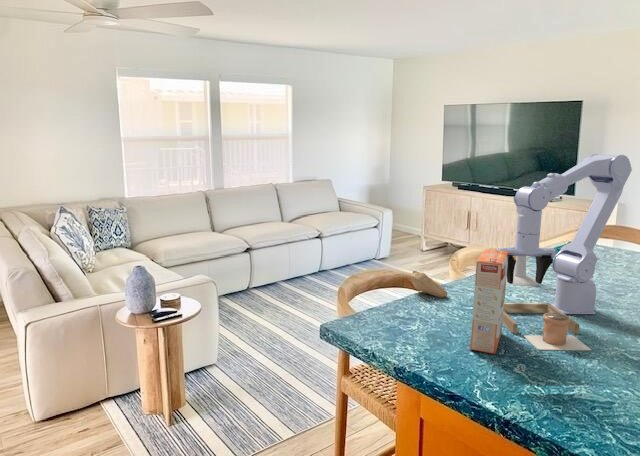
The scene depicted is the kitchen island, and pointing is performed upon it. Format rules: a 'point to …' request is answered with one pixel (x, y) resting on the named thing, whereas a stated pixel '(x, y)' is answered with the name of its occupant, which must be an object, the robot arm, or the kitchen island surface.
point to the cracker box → (489, 300)
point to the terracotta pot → (555, 328)
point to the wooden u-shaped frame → (532, 309)
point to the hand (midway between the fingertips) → (524, 282)
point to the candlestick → (522, 274)
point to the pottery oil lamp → (427, 284)
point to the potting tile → (571, 344)
